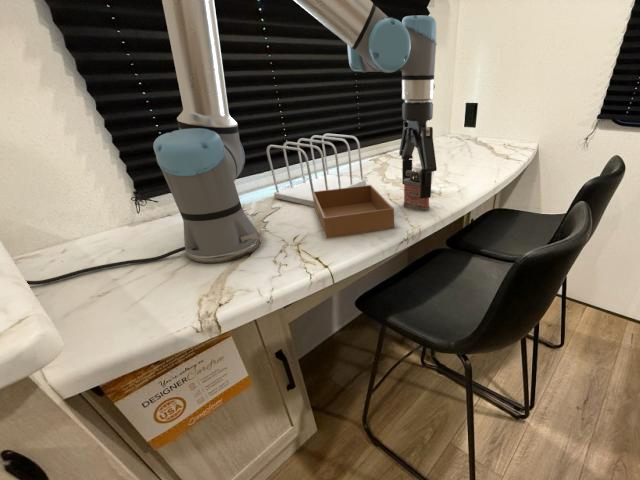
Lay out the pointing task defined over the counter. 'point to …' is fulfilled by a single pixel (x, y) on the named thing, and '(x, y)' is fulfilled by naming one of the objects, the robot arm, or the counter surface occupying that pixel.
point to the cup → (418, 168)
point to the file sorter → (324, 182)
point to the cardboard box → (352, 211)
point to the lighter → (414, 192)
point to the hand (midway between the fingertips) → (415, 190)
